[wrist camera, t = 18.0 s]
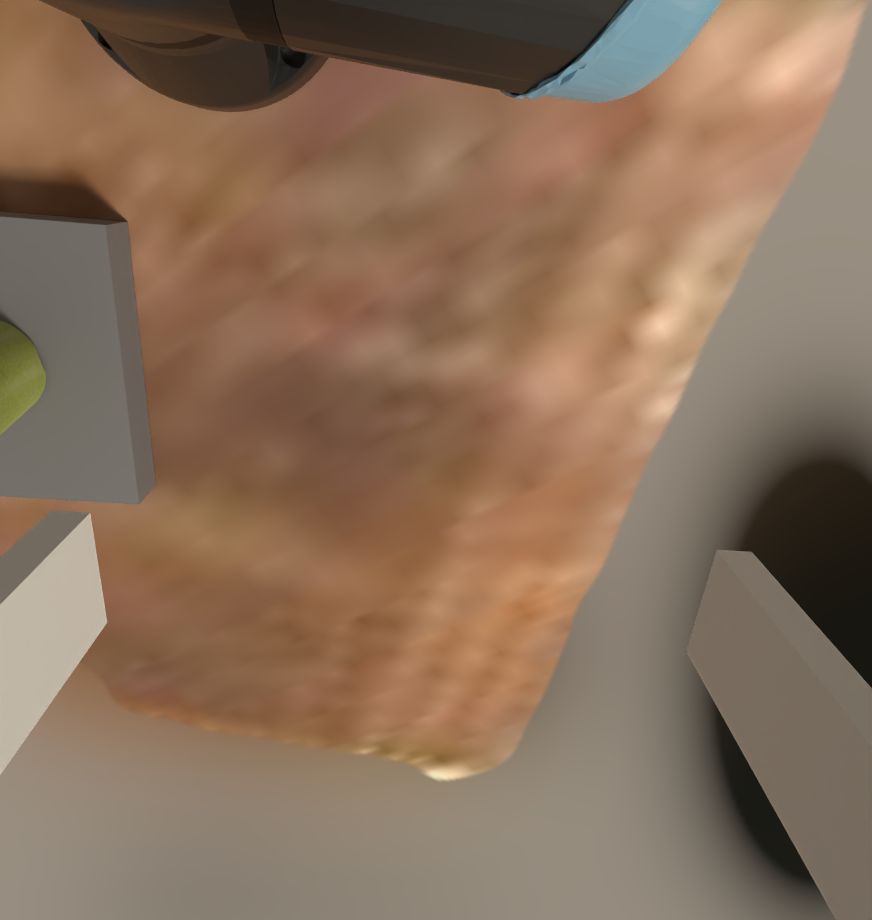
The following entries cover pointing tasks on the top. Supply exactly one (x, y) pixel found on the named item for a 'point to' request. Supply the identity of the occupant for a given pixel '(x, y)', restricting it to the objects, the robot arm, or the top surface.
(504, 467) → the top surface
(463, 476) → the top surface
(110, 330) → the board
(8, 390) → the plant pot
